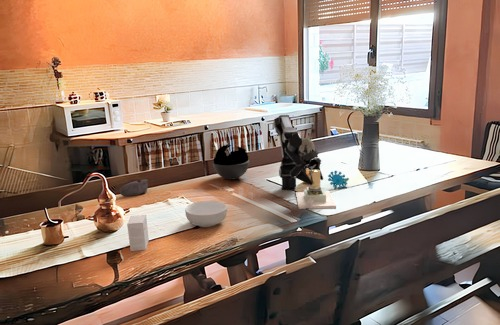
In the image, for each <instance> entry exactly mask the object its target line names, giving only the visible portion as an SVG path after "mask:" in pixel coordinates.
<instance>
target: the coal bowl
mask: <svg viewBox="0 0 500 325" xmlns="http://www.w3.org/2000/svg"><path fill="white" fill-rule="evenodd" d="M231 146H232V145H231V144H226V145H225V144H224V145H222V146H221V147H219V148H218V149H217V150H216V152H215V155H214V157H213V161H212V166H213V169H214V171H215V172H216V173H217V175H219V177H221V178H223V179H226V180H236V179H239V178H241V177H242V176H243V175H245V173H247V171H248V168H249V166H250V159H249V154H248V152H247V150H246V148H243V147H241V146H237V150H231V151H230V152H229V153H228V154H227V152H226V150H228V148H230V147H231Z"/></svg>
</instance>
